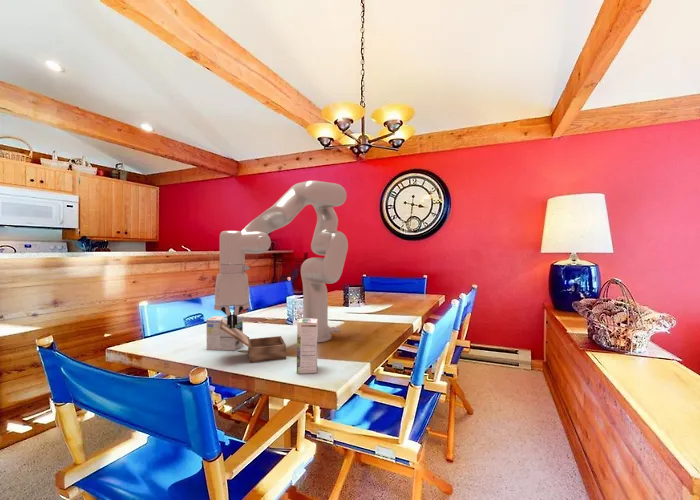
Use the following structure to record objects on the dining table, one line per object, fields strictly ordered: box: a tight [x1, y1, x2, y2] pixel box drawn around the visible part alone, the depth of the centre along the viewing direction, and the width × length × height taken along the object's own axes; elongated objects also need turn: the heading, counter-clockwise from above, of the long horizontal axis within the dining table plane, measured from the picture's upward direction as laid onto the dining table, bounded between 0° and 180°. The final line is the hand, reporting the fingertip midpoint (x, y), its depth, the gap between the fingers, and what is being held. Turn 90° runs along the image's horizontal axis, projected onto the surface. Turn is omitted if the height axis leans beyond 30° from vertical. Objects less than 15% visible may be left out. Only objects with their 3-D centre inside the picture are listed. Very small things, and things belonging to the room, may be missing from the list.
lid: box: [220, 319, 251, 348], centre depth 103 cm, size 11×11×1 cm
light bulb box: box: [206, 315, 244, 351], centre depth 115 cm, size 11×7×11 cm, turn 84°
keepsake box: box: [247, 335, 287, 364], centre depth 106 cm, size 11×11×4 cm
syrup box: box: [296, 317, 319, 375], centre depth 94 cm, size 6×6×14 cm
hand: (232, 327), depth 103 cm, fingers closed
